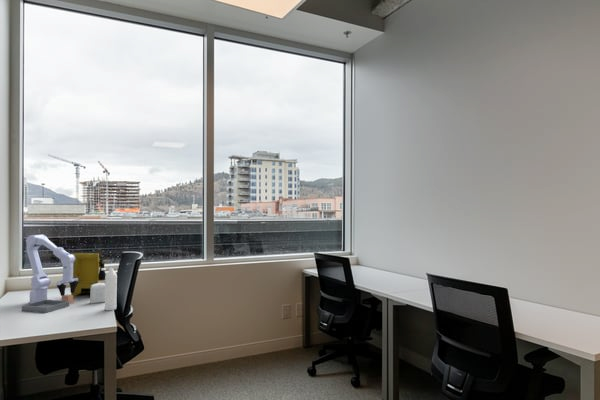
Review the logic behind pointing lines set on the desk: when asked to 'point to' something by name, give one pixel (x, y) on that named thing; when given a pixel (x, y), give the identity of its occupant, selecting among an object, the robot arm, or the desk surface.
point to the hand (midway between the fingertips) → (67, 294)
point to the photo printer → (97, 293)
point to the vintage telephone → (87, 272)
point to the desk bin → (45, 306)
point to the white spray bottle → (110, 289)
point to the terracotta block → (68, 298)
